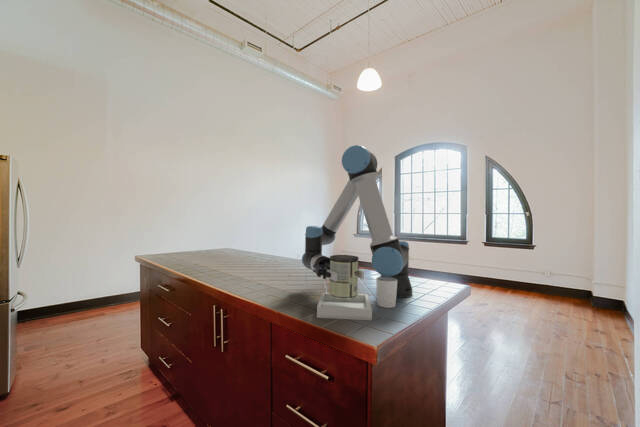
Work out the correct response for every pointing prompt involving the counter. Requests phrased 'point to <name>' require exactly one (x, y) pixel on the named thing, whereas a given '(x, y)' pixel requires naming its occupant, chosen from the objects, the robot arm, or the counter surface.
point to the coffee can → (344, 277)
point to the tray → (344, 308)
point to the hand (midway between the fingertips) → (349, 276)
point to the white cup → (386, 291)
